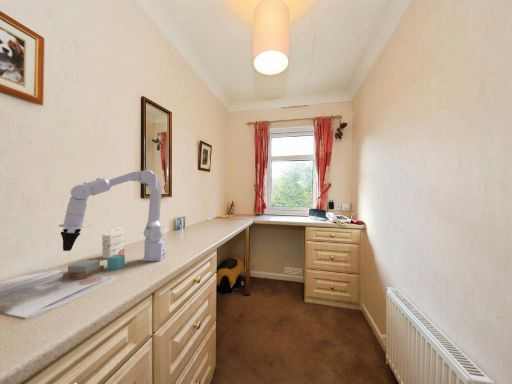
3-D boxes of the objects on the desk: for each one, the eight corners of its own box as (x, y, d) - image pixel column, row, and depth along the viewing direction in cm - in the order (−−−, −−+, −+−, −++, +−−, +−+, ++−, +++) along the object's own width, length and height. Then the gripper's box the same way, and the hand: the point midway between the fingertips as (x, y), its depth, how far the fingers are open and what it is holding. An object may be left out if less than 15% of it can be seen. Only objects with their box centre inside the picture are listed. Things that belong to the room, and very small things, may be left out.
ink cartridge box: (116, 253, 109) (116, 226, 109) (124, 253, 108) (124, 226, 108) (101, 258, 101) (101, 228, 101) (109, 258, 100) (110, 229, 100)
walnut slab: (103, 271, 86) (103, 265, 86) (86, 280, 77) (86, 273, 77) (82, 271, 86) (82, 265, 86) (62, 280, 77) (62, 273, 77)
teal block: (124, 265, 91) (124, 254, 91) (117, 269, 86) (118, 258, 86) (114, 265, 91) (114, 254, 91) (107, 269, 86) (107, 257, 86)
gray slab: (99, 266, 85) (99, 260, 85) (85, 272, 78) (86, 266, 78) (83, 266, 85) (83, 260, 85) (67, 272, 78) (67, 266, 78)
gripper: (63, 212, 85) (55, 244, 83) (60, 215, 74) (51, 252, 72) (85, 213, 89) (78, 244, 88) (85, 216, 78) (77, 252, 77)
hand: (67, 248), depth 80 cm, fingers open, 7 cm apart
